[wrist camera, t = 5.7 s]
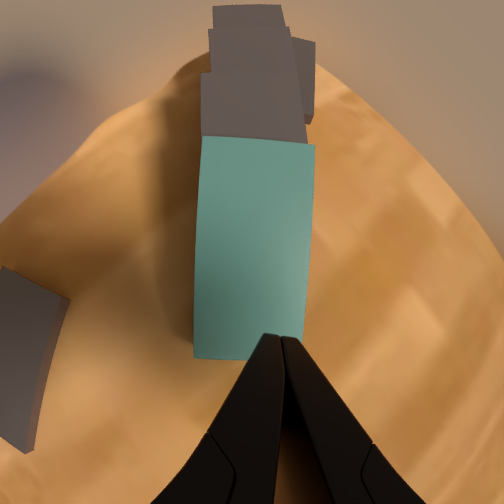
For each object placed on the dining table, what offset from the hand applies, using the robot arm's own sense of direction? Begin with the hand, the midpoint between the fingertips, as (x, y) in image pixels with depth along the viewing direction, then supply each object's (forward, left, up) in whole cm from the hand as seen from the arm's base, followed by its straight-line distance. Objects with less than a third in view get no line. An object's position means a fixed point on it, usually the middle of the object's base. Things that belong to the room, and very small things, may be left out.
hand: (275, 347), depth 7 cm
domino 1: (-4, +13, -9) cm, 16 cm away
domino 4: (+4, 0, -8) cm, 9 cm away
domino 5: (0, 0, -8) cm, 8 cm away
